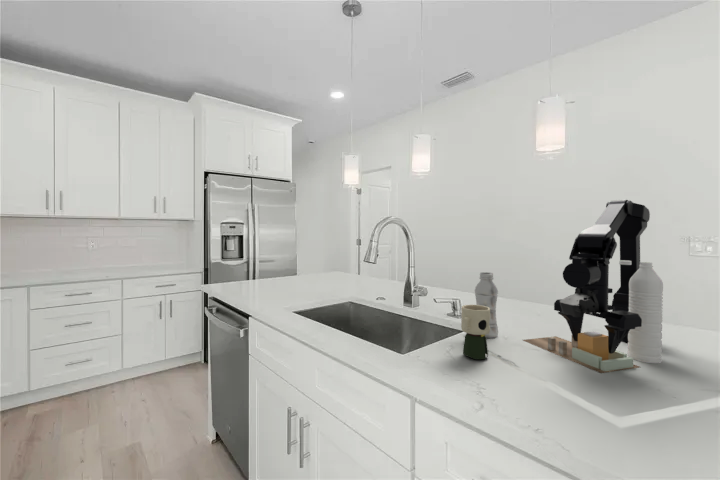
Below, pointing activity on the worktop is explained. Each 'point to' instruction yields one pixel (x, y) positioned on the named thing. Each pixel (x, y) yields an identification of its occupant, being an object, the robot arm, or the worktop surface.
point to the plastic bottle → (488, 300)
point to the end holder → (614, 362)
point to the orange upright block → (594, 343)
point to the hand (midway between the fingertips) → (593, 346)
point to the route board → (565, 350)
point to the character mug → (475, 330)
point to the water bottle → (645, 313)
